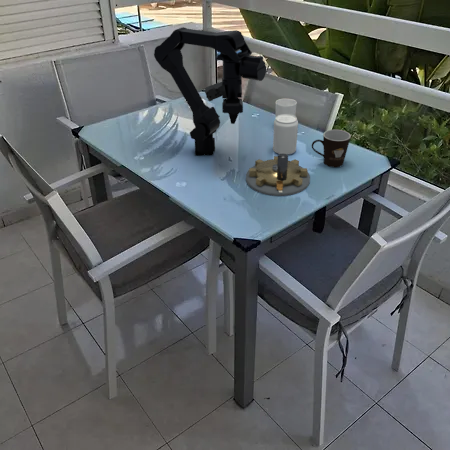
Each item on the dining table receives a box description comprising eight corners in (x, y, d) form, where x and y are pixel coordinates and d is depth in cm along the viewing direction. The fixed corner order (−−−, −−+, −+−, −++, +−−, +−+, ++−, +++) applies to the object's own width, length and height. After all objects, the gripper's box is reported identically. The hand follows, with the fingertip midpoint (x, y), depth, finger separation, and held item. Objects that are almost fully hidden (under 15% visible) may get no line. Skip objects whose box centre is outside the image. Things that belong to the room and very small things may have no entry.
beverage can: (295, 156, 163) (297, 123, 156) (271, 155, 164) (272, 122, 158) (296, 146, 170) (299, 114, 163) (274, 144, 171) (275, 113, 164)
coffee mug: (348, 158, 161) (352, 131, 155) (344, 170, 154) (348, 142, 149) (313, 154, 164) (316, 127, 159) (309, 165, 158) (311, 137, 152)
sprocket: (271, 196, 140) (272, 167, 134) (238, 171, 152) (238, 143, 147) (318, 179, 147) (321, 151, 142) (283, 156, 160) (285, 130, 154)
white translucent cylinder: (272, 123, 186) (273, 98, 180) (292, 122, 187) (294, 97, 181) (276, 132, 180) (277, 106, 174) (296, 130, 180) (298, 105, 175)
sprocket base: (246, 196, 143) (247, 192, 142) (245, 164, 159) (245, 161, 158) (314, 195, 142) (314, 191, 142) (305, 163, 159) (305, 160, 158)
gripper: (207, 66, 154) (209, 112, 163) (204, 86, 138) (206, 136, 147) (241, 66, 153) (241, 112, 162) (243, 85, 138) (242, 135, 147)
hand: (232, 123), depth 155 cm, fingers closed
